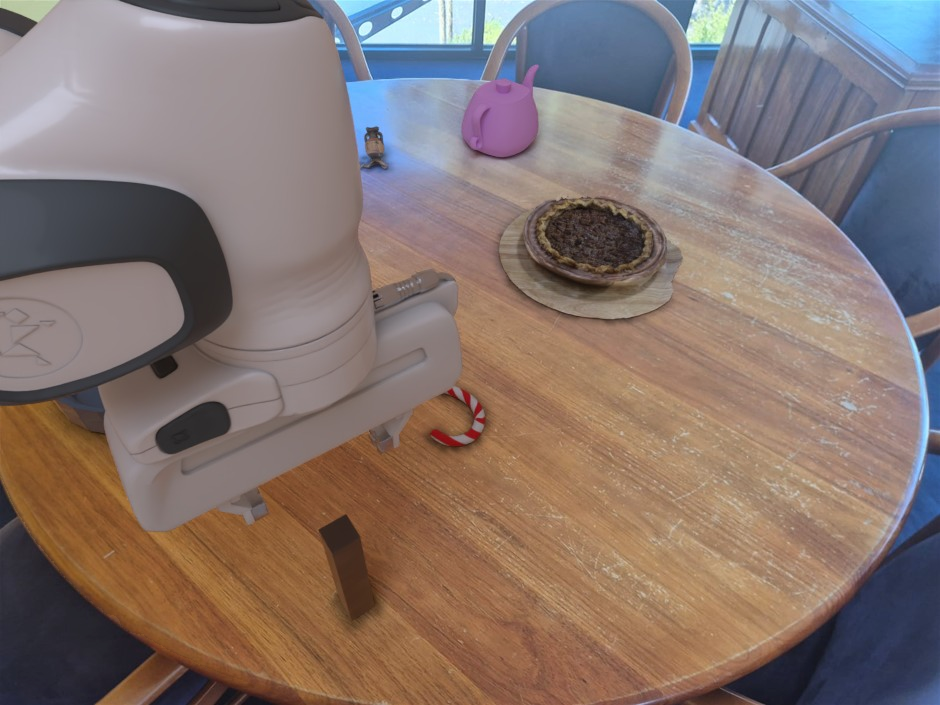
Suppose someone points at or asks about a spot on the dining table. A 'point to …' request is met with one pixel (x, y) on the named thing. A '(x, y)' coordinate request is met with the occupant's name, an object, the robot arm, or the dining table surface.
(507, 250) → the pie
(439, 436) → the candy cane
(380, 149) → the vase
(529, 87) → the teapot
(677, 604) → the dining table surface
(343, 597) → the stick
